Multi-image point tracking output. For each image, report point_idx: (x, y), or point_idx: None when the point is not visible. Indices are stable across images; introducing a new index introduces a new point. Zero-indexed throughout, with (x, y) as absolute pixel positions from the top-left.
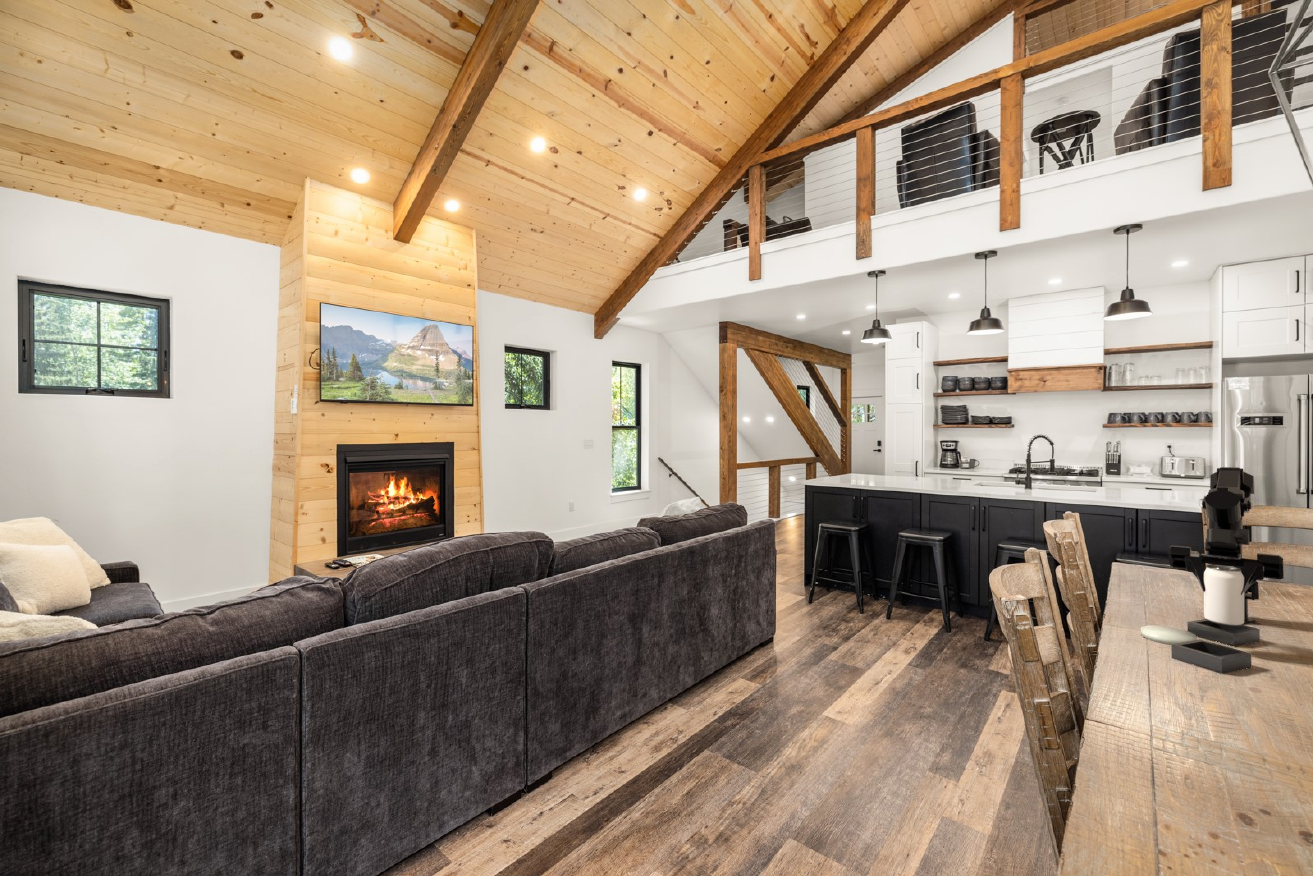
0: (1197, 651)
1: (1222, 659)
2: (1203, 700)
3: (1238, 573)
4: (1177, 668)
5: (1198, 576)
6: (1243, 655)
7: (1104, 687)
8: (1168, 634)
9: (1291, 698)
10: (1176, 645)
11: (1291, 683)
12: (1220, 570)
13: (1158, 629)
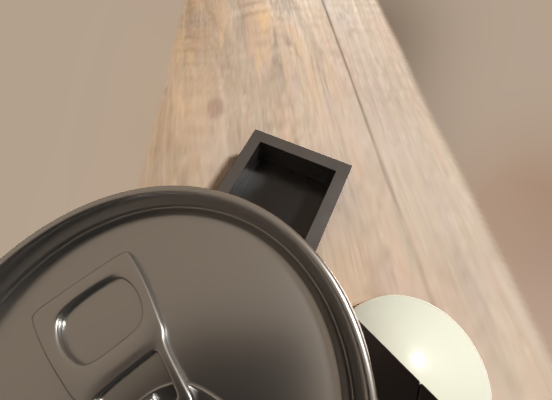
0: (298, 148)
1: (254, 131)
2: (272, 32)
3: (17, 285)
4: (322, 130)
5: (404, 366)
6: (217, 190)
7: (373, 3)
8: (398, 342)
9: (172, 104)
10: (341, 163)
11: (157, 177)
12: (193, 192)
13: (442, 394)
